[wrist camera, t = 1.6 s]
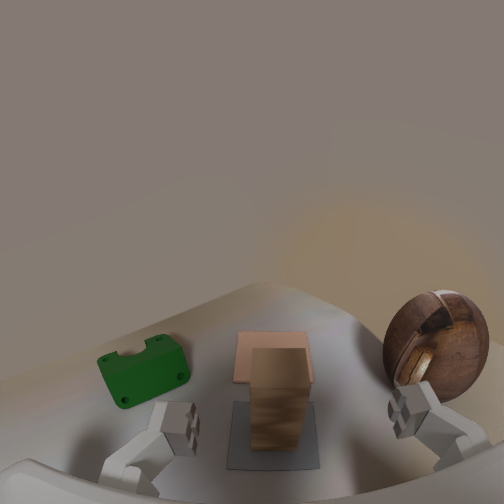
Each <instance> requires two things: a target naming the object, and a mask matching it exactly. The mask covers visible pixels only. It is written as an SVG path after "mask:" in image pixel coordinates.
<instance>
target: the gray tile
mask: <svg viewBox="0 0 504 504" xmlns="http://www.w3.org/2000/svg"><path fill="white" fill-rule="evenodd" d="M227 469H234V470H258V471H287V470H310V469H320V464H319V454H318V444H317V435H316V426H315V417H314V409H313V402H308V403H307V408H306V412H305V417H304V421H303V425H302V430H301V434H300V438H299V442H298V446H297V450H296V451H251V414H250V402H234V408H233V417H232V426H231V435H230V444H229V453H228V462H227Z"/></svg>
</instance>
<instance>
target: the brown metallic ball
mask: <svg viewBox="0 0 504 504" xmlns="http://www.w3.org/2000/svg"><path fill="white" fill-rule="evenodd" d="M488 350H489V334H488V327H487V324H486V321H485V319H484V316H483V315H482V313H481V311H480V310H479V308H478V307H477V306H476V305H475V304H474V303H473V302H472V301H471V300H469V299H468V298H467V297H465V296H463V295H462V294H459V293H457V292H454V291H449V290H434V291H429V292H425V293H423V294H420V295H418V296H416V297H414V298H413V299H412V300H410V301H408V302H407V303H406V304H405V305H404V306H403V307H402V308H401V309H400V310H399V311H398V312H397V313H396V315H395V316H394V318H393V319H392V321H391V323H390V325H389V327H388V329H387V332H386V335H385V339H384V344H383V363H384V368H385V371H386V374H387V376H388V378H389V380H390V382H391V383H392V385H393V386H394V388H396V387H400V386H405V385H409V384H413V383H418V382H422V381H428V382H429V384H430V386H431V387H432V389H433V391H434V393H435V394H436V396H437V398H438V400H439V402H440V403H444V402H447V401H450V400H452V399H454V398H456V397H458V396H460V395H461V394H463V393H464V392H465V391H466V390H468V389H469V388H470V387H471V386H472V384H473V383H474V382H475V381H476V380H477V378H478V377H479V375H480V373H481V372H482V370H483V367H484V365H485V362H486V359H487V356H488Z"/></svg>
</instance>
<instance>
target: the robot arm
mask: <svg viewBox="0 0 504 504" xmlns="http://www.w3.org/2000/svg"><path fill="white" fill-rule="evenodd" d="M392 394H393V396H394V397H393V398H392V399H390V401H389V404H388V415H389V418H390V420H391V421H392V422H394V423H395V424H394V427H393V429H394V432H395V434H396V437H397V439H401V438H405V437H409V436H413V435H415V437H416V438H417V439H419V440H420V441H421V442H422V443H423V444H425V445H426V446H427V447H428V448H429V449H431V450H432V451H433V452H434V453H435V454H437V455H438V456H439V457H440V460H439V461H438V462H437V463H436V464H435V466H434V467H433V469H434V471H435V472H434V473H432V474H429V475H426V476H423V477H420V478H417V479H414V480H411V481H408V482H405V483H401V484H398V485H395V486H391V487H387V488H384V489H380V490H376V491H371V492H367V493H362V494H358V495H353V496H348V497H342V498H336V499H330V500H323V501H315V502H306V503H296V504H504V440H503V441H501V442H499V443H498V444H496V445H494V446H492V445H491V443H490V442H489V440H488V438H487V436H486V434H485V432H484V430H483V429H482V427H481V426H479V425H478V424H476V423H474V422H472V421H471V420H469V419H467V418H465V417H464V416H462V415H460V414H458V413H457V412H455V411H453V410H451V409H450V408H448V407H446V406H442V405H441V404H440V402H439V400H438V398H437V396H436V394H435V393H434V391H433V389H432V387H431V386H430V384H429V382H428V381H422V382H418V383H413V384H409V385H405V386H400V387H396V388H395V389H394V391H393V393H392ZM195 410H196V407H195V404H194V403H184V402H173V401H162V400H157V402H156V403H155V406H154V409H153V412H152V415H151V419H150V422H149V425H148V428H147V430H143V431H142V432H141V433H139V434H138V435H137V436H135V437H134V438H133V439H132V440H130V441H129V442H128V443H127V444H125V445H124V446H123V447H121V448H120V449H119V450H117V451H116V452H115V453H113V454H112V455H111V456H109V457H108V458H107V459H106V460H105V463H104V465H103V468H102V471H101V474H100V477H99V479H98V482H97V483H94V482H91V481H87V480H84V479H81V478H78V477H76V476H73V475H70V474H67V473H64V472H62V471H59V470H57V469H54V468H52V467H49V466H47V465H45V464H42V463H40V462H38V461H36V460H33V459H25V460H22V461H20V462H17V463H15V464H13V465H11V466H10V467H8V468H6V469H4V470H3V471H2V472H1V473H0V504H203V503H192V502H183V501H176V500H169V499H162V498H159V494H160V493H159V492H158V490H157V489H156V488H155V487H154V486H153V484H152V483H151V481H152V480H153V479H154V478H155V477H156V476H157V475H158V474H159V473H160V472H161V471H162V470H163V469H164V468H165V467H166V466H167V464H168V463H169V462H170V461H171V460H172V459H173V458H174V457H175V455H180V456H195V454H196V448H197V442H196V439H195V438H196V437H197V436H198V435H199V424H200V423H199V417H198V414H196V413H195Z"/></svg>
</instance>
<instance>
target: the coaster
mask: <svg viewBox="0 0 504 504" xmlns="http://www.w3.org/2000/svg"><path fill="white" fill-rule="evenodd" d="M253 348H306V355H307V362H308V370H309V377H310V383H314V378H313V371H312V364H311V358H310V351H309V345H308V339H307V332H256V331H239V335H238V343H237V351H236V359H235V367H234V375H233V383H250V380H251V365H252V350H253Z"/></svg>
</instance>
